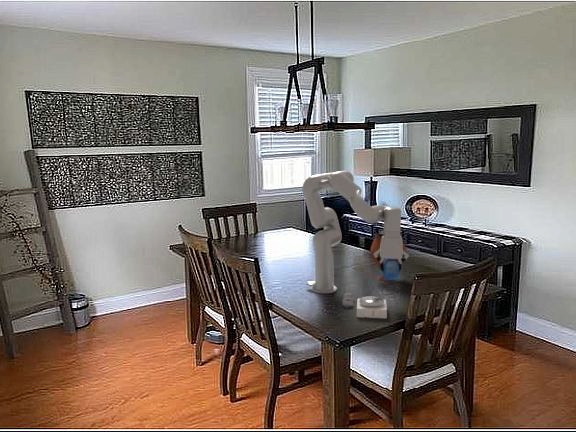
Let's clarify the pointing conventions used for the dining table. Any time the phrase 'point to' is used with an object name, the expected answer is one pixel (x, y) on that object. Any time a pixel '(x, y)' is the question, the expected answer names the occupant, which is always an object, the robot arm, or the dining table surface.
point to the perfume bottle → (390, 269)
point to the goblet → (375, 248)
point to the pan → (371, 301)
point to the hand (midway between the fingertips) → (390, 270)
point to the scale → (371, 310)
